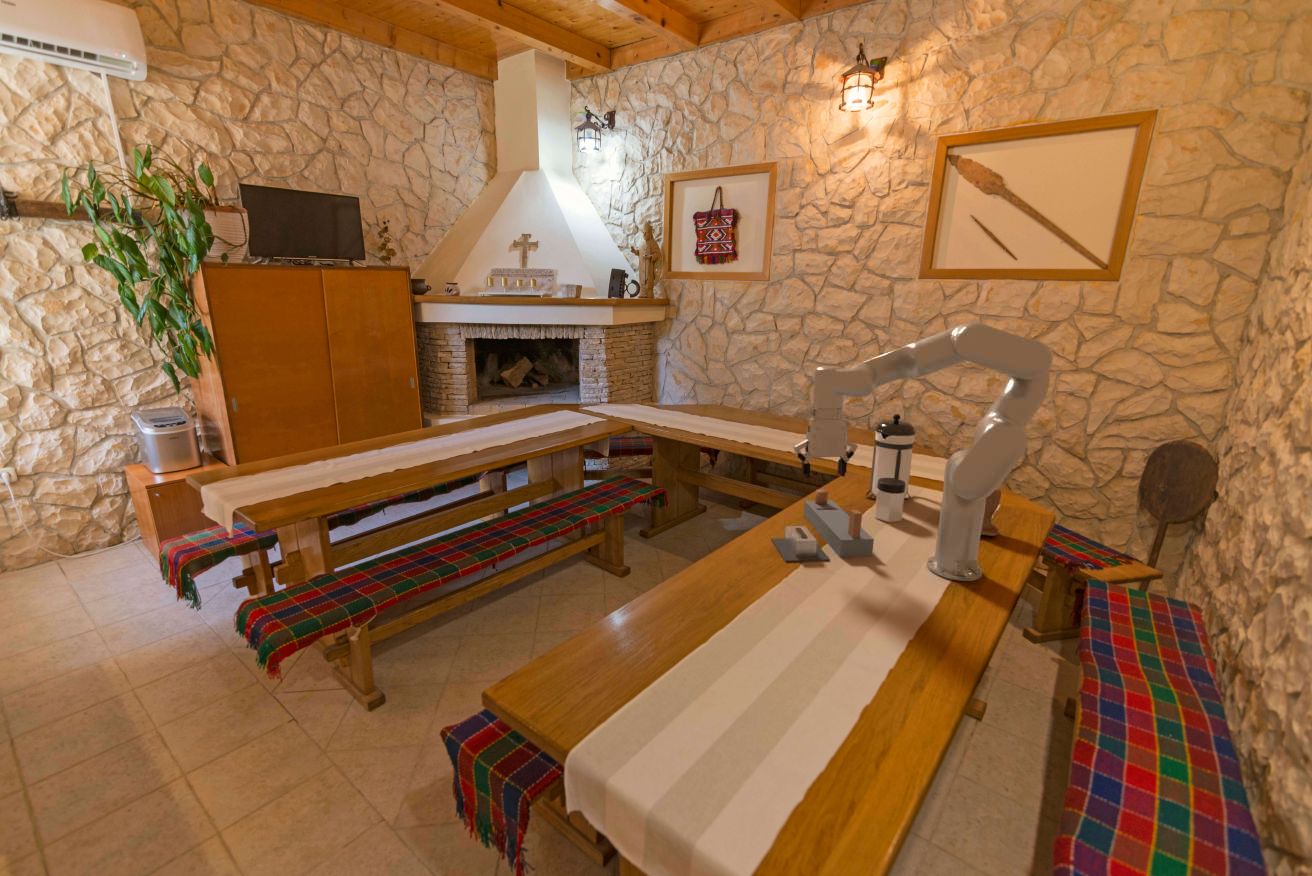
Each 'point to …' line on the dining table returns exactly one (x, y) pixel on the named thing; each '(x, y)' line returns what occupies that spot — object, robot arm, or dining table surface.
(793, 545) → the light grey box
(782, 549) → the rubber mat
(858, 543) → the body
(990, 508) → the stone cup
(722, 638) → the dining table surface
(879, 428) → the coffee press
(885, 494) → the jar
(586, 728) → the dining table surface
